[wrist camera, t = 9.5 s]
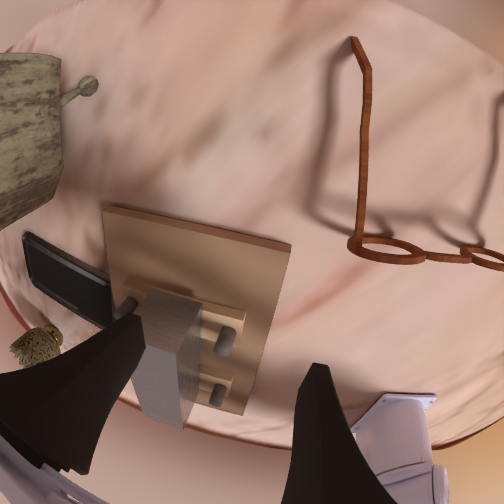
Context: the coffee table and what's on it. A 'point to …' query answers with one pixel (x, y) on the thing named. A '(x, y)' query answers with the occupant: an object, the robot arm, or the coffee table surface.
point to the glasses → (358, 239)
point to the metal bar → (169, 357)
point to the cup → (37, 346)
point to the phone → (69, 281)
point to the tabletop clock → (31, 131)
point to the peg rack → (202, 290)
